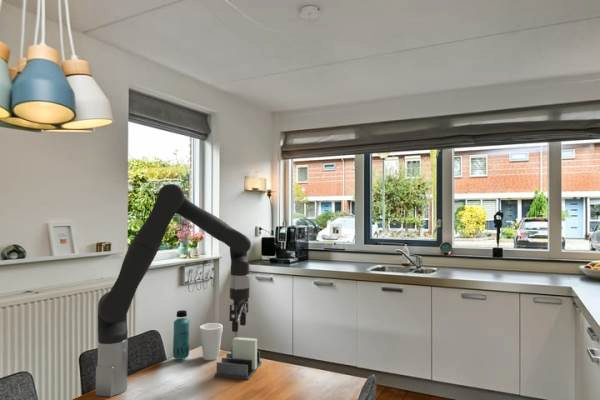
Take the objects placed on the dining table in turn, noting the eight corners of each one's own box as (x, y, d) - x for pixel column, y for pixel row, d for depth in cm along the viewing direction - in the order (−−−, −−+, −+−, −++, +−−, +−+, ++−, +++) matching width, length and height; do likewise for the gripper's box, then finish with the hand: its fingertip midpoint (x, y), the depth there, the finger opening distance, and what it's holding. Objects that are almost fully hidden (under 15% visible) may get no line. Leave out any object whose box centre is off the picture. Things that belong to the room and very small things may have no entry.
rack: (248, 379, 149) (248, 366, 149) (214, 376, 152) (214, 363, 152) (261, 363, 165) (261, 351, 165) (230, 360, 167) (230, 348, 168)
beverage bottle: (169, 360, 167) (169, 311, 168) (181, 355, 173) (181, 308, 174) (181, 363, 164) (181, 313, 165) (192, 358, 170) (193, 310, 171)
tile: (254, 369, 156) (255, 340, 156) (232, 368, 158) (232, 339, 158) (257, 367, 158) (257, 338, 158) (234, 365, 160) (235, 337, 160)
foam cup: (227, 356, 173) (227, 325, 173) (211, 363, 165) (211, 330, 165) (210, 352, 178) (210, 321, 178) (194, 358, 170) (195, 327, 170)
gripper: (237, 282, 167) (236, 322, 166) (223, 289, 153) (222, 333, 152) (254, 283, 165) (254, 324, 165) (242, 290, 151) (241, 334, 151)
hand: (239, 328), depth 158 cm, fingers open, 8 cm apart
